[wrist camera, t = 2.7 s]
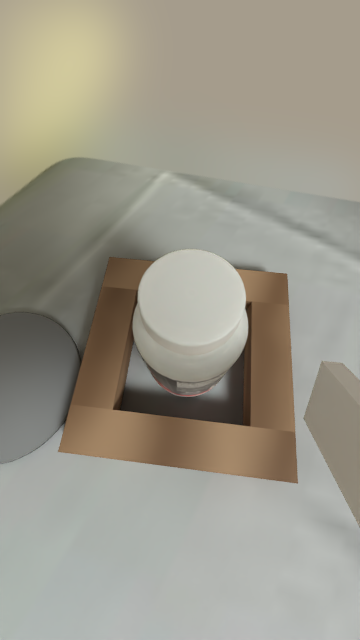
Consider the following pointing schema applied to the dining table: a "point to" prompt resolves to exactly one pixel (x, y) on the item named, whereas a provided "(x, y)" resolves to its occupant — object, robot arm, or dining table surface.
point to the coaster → (33, 381)
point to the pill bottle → (190, 320)
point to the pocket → (179, 433)
